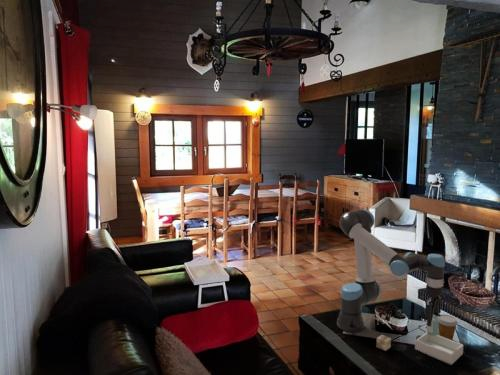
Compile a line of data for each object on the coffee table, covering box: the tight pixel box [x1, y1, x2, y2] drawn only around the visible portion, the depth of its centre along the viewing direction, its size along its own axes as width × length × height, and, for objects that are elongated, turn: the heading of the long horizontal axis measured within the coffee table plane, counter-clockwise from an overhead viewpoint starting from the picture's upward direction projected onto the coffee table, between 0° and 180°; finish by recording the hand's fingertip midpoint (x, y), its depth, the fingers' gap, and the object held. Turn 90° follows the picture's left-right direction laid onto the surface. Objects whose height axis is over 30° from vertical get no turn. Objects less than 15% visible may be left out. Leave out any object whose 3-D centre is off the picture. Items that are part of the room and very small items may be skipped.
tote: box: [414, 331, 464, 366], centre depth 193 cm, size 18×14×5 cm
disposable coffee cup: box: [438, 314, 458, 341], centre depth 203 cm, size 10×10×12 cm
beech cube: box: [375, 334, 392, 352], centre depth 197 cm, size 5×5×5 cm
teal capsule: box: [426, 318, 439, 336], centre depth 194 cm, size 5×5×7 cm
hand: (432, 329), depth 194 cm, fingers closed on teal capsule, 5 cm apart
